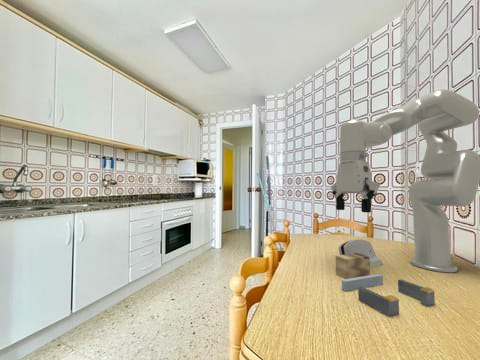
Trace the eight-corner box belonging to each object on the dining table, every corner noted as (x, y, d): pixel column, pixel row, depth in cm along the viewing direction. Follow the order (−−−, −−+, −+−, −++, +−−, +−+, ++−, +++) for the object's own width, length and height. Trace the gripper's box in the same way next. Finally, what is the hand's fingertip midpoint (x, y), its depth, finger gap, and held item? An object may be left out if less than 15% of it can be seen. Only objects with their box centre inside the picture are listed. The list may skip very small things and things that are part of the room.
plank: (378, 282, 60) (378, 273, 60) (383, 284, 58) (382, 275, 59) (341, 289, 55) (341, 279, 55) (345, 291, 54) (345, 281, 54)
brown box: (358, 271, 69) (358, 252, 69) (370, 275, 65) (369, 256, 66) (335, 274, 65) (335, 255, 66) (346, 279, 62) (346, 259, 62)
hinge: (355, 271, 68) (345, 240, 72) (343, 272, 72) (334, 242, 76) (383, 264, 76) (373, 236, 80) (371, 265, 80) (361, 238, 84)
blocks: (401, 290, 55) (400, 277, 55) (435, 304, 48) (434, 289, 48) (358, 300, 49) (358, 285, 50) (389, 317, 42) (389, 299, 43)
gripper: (386, 155, 61) (387, 213, 60) (340, 163, 78) (339, 209, 76) (368, 152, 59) (369, 213, 57) (324, 161, 75) (323, 208, 74)
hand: (352, 211), depth 67 cm, fingers open, 9 cm apart
